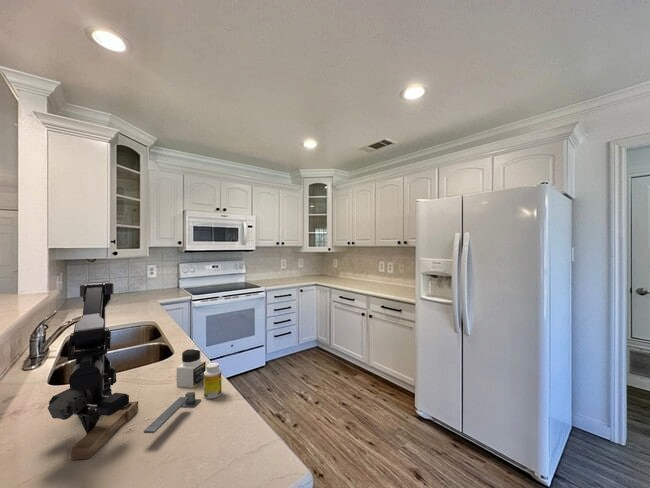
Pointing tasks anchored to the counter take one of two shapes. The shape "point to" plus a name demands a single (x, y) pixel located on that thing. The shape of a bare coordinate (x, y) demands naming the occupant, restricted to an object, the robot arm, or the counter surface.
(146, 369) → the counter surface
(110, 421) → the tan wooden bar
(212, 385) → the supplement bottle
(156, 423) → the grey flat bar piece
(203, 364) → the medicine bottle
